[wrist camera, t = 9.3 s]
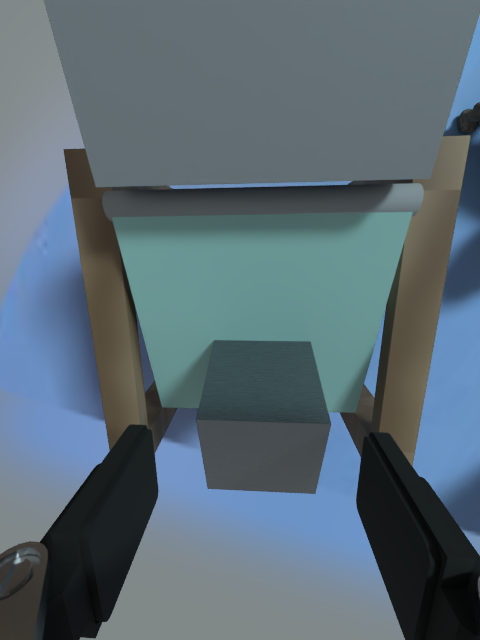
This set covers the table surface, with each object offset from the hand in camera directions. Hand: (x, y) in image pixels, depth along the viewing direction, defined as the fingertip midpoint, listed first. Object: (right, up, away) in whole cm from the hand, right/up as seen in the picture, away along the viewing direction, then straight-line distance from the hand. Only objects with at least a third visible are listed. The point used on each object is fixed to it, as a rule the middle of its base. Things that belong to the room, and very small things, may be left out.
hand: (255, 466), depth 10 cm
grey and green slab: (0, +9, +5) cm, 10 cm away
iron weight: (+1, +2, +6) cm, 7 cm away
